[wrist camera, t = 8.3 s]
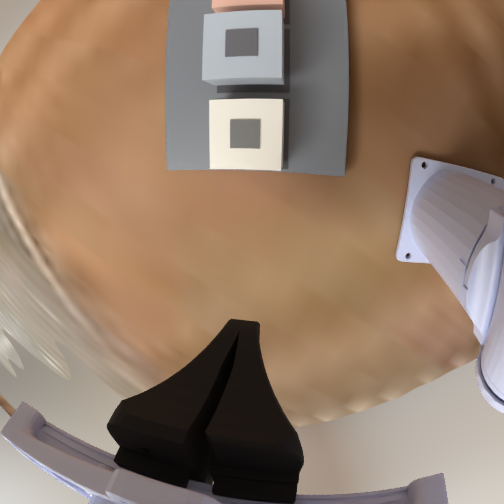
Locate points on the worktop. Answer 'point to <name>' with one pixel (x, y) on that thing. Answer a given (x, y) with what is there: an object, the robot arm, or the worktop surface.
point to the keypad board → (265, 87)
